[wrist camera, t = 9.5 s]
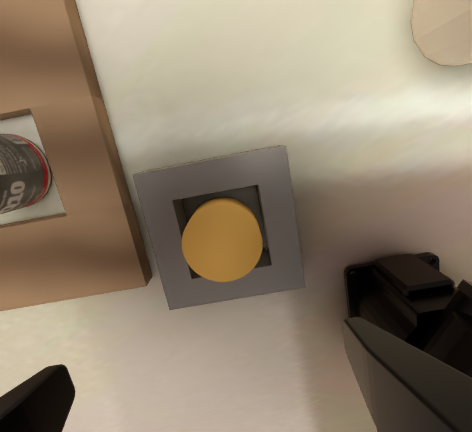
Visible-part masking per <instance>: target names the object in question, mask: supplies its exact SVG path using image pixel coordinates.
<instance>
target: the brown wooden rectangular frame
mask: <svg viewBox="0 0 472 432" xmlns="http://www.w3.org/2000/svg"><path fill="white" fill-rule="evenodd" d="M28 114H32V115H33V118H34V121H35V124H36V127H37V130H38V133H39V136H40V139H41V142H42V145H43V148H44V150H45V153H46V156H47V159H48V162H49V165H50V168H51V171H52V174H53V177H54V180H55V183H56V186H57V189H58V191H59V194H60V197H61V200H62V203H63V206H64V209H65V212H66V213H63V214H58V215H53V216H47V217H42V218H37V219H31V220H26V221H20V222H15V223H10V224H4V225H0V311H4V310H10V309H16V308H22V307H27V306H33V305H39V304H45V303H51V302H57V301H62V300H68V299H74V298H80V297H86V296H91V295H97V294H103V293H109V292H115V291H120V290H126V289H132V288H138V287H144V286H147V284H148V282H149V281H150V279H151V278H152V273H151V270H150V266H149V262H148V259H147V255H146V252H145V248H144V245H143V241H142V238H141V234H140V230H139V227H138V223H137V220H136V216H135V213H134V209H133V206H132V202H131V198H130V195H129V191H128V188H127V184H126V181H125V177H124V174H123V170H122V166H121V163H120V159H119V156H118V152H117V149H116V145H115V142H114V138H113V134H112V131H111V127H110V124H109V120H108V117H107V113H106V110H105V106H104V102H103V99H102V95H101V92H100V88H99V85H98V81H97V78H96V74H95V70H94V67H93V63H92V60H91V56H90V53H89V49H88V45H87V42H86V38H85V35H84V31H83V28H82V24H81V21H80V17H79V13H78V10H77V6H76V3H75V0H0V120H3V119H8V118H13V117H18V116H23V115H28Z"/></svg>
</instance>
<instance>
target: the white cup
mask: <svg viewBox="0 0 472 432" xmlns="http://www.w3.org/2000/svg"><path fill="white" fill-rule="evenodd" d="M411 26H412V31H413V37H414V41H415V43H416V45H417V46H418V48H419V49H420V51H421V52H422V54H423V55H424V56H425V57H427V58H428V59H430V60H432V61H433V62H435V63H437V64H439V65H450V66H458V65H463V64H468V63H472V0H415V1H414V6H413V12H412V17H411Z"/></svg>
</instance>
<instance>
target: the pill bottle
mask: <svg viewBox="0 0 472 432" xmlns="http://www.w3.org/2000/svg"><path fill="white" fill-rule="evenodd" d="M50 180H51V174H50V169H49V165H48V163H47V160H46V159H45V157H44V155H43V154H42V152H41V151H40V150H39V149H38V148H37V147H36V146H35V145H34V144H33V143H31V142H30V141H28V140H26V139H24V138H22V137H19V136H16V135H11V134H0V214H3V213H6V212H9V211H13V210H16V209H19V208H23V207H26V206H29V205H32V204H34V203H36V202H38V201H39V200H40V199H41V198H43V196H44V195H45V194H46V192H47V191H48V188H49V185H50Z"/></svg>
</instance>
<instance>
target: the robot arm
mask: <svg viewBox="0 0 472 432" xmlns="http://www.w3.org/2000/svg"><path fill="white" fill-rule="evenodd" d="M431 258H432V260H431V262H429V263H428V261H429V259H431ZM353 271H354V272H355V273H354V274H353V275H350V273H351V272H353ZM344 276H345V286H346V296H347V306H348V316H349V318H348V319H344V320H343V333H344V342H345V349H346V353H347V356H348V359H349V361H350V364H351V366H352V369H353V372H354V374H355V377H356V379H357V382H358V384H359V387H360V389H361V392H362V394H363V397H364V399H365V402H366V404H367V407H368V409H369V412H370V414H371V416H372V419H373V421H374V423H375V425H376V427H377V431H378V432H472V283H470V282H468V281H465V280H462V281H461V283H460V284H459V286H458V287H457V288H456V287H455V282H454V281H453V280H451V279H450V278H449V277H447V276H445V275H444V274H442V273H441V272H439V258H438V256H436V255H434V254H433V253H424V254H418V255H412V254H405V255H399V256H394V257H388V258H382V259H377V260H375V261H374V262H371V263H365V264H359V265H353V266H349V267H347V268H346V269H345V271H344ZM74 398H75V388H74V385H73V382H72V380H71V377H70V375H69V372H68V370H67V368H66V366H65V365H62V364H60V365H54V366H49V367H46V368H44V369H43V370H41V371H40V372H38V373H37V374H35V375H34V376H32V377H31V378H29V379H27V380H26V381H24V382H23V383H21V384H20V385H18V386H17V387H15V388H14V389H12V390H11V391H9V392H8V393H6V394H5V395H3V396H1V397H0V432H62V430H63V427H64V425H65V422H66V419H67V417H68V414H69V411H70V409H71V406H72V404H73V401H74Z"/></svg>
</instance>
